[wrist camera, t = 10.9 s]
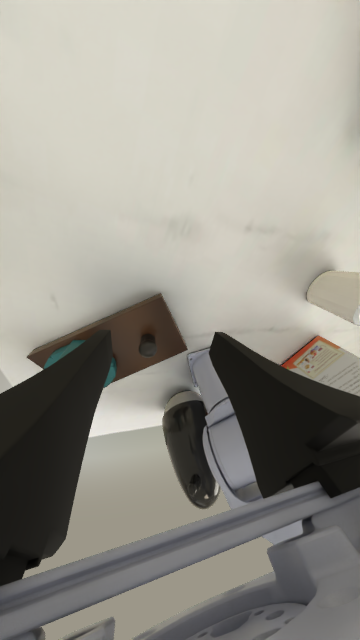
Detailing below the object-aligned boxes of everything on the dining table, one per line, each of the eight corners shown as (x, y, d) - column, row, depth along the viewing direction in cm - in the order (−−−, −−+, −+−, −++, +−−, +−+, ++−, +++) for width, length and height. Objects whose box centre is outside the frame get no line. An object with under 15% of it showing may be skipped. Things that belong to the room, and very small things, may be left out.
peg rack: (161, 292, 19) (167, 318, 13) (185, 344, 24) (198, 379, 18) (33, 349, 19) (-21, 401, 13) (85, 387, 24) (64, 437, 18)
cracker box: (278, 382, 36) (403, 518, 18) (266, 375, 34) (400, 527, 16) (326, 344, 32) (547, 472, 14) (318, 334, 30) (574, 474, 12)
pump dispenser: (195, 376, 29) (235, 488, 16) (210, 399, 34) (248, 497, 21) (151, 396, 29) (154, 523, 16) (172, 416, 34) (187, 522, 21)
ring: (117, 383, 23) (110, 419, 19) (58, 387, 21) (32, 429, 16) (114, 340, 19) (103, 372, 14) (39, 339, 17) (-2, 377, 12)
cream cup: (347, 280, 24) (413, 293, 18) (314, 312, 26) (362, 333, 20) (331, 257, 21) (404, 264, 15) (296, 295, 23) (346, 314, 17)
